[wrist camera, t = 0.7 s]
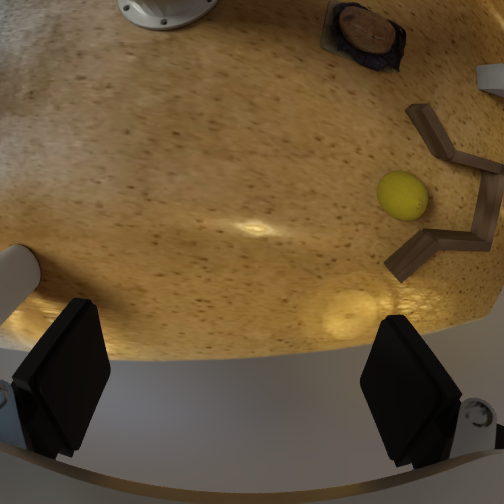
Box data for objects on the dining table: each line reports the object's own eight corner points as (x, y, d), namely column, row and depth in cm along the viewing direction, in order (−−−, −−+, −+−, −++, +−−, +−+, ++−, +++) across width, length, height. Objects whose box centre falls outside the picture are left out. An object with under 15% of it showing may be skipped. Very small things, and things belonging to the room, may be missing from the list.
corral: (404, 102, 30) (421, 101, 27) (492, 130, 31) (510, 133, 28) (381, 269, 39) (394, 283, 35) (466, 268, 40) (480, 279, 36)
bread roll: (316, 52, 29) (324, 44, 25) (328, -4, 25) (337, -15, 22) (396, 82, 30) (410, 79, 26) (405, 28, 27) (419, 22, 23)
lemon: (411, 179, 34) (447, 194, 27) (392, 216, 36) (424, 238, 29) (379, 157, 33) (413, 168, 26) (359, 197, 35) (388, 216, 28)
